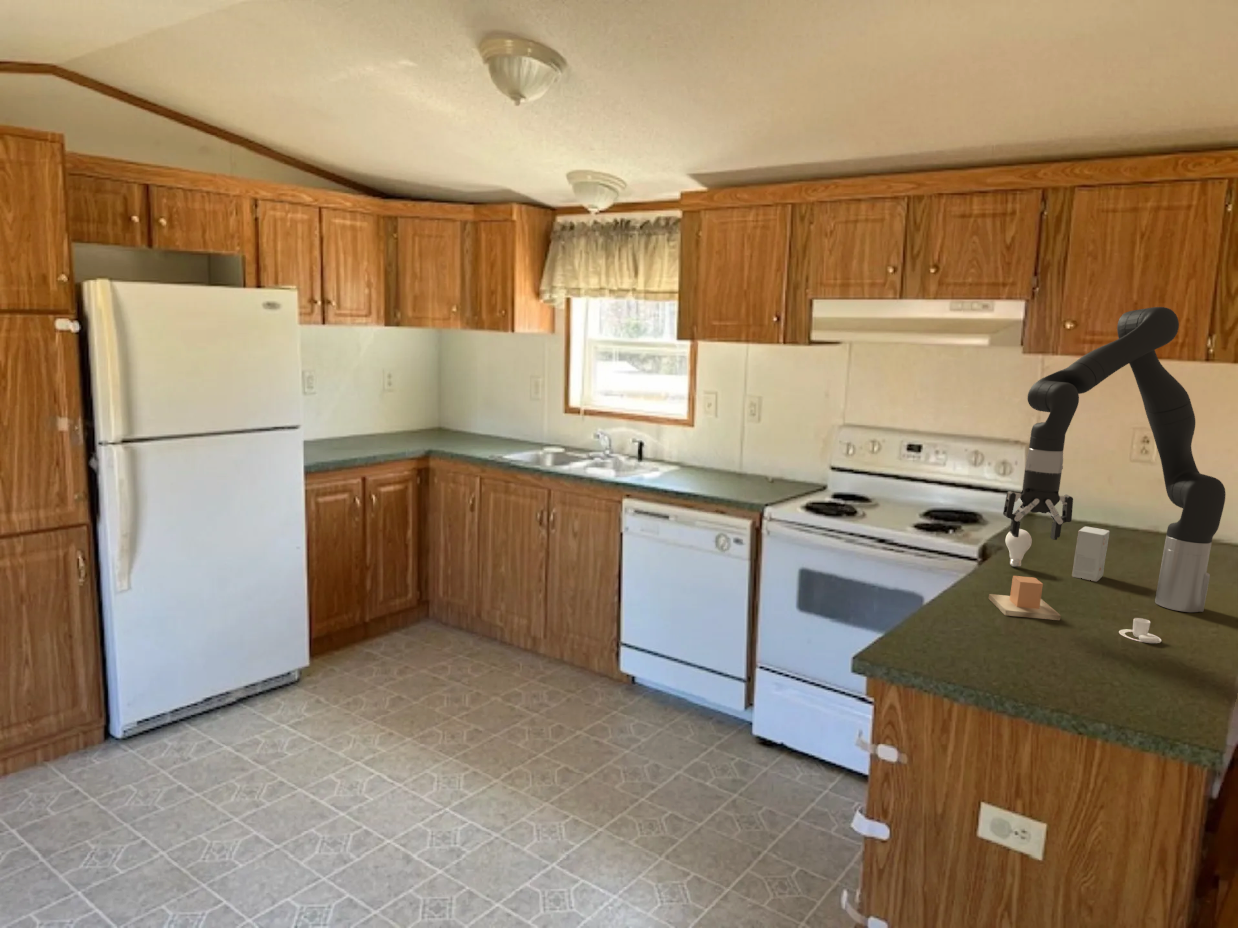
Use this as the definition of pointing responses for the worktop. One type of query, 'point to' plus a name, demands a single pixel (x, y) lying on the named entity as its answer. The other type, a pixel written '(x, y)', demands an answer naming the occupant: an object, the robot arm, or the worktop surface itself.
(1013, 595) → the salmon cube
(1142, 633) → the white ring and cup
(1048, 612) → the post base
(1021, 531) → the light bulb
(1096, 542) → the small box
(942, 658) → the worktop surface
